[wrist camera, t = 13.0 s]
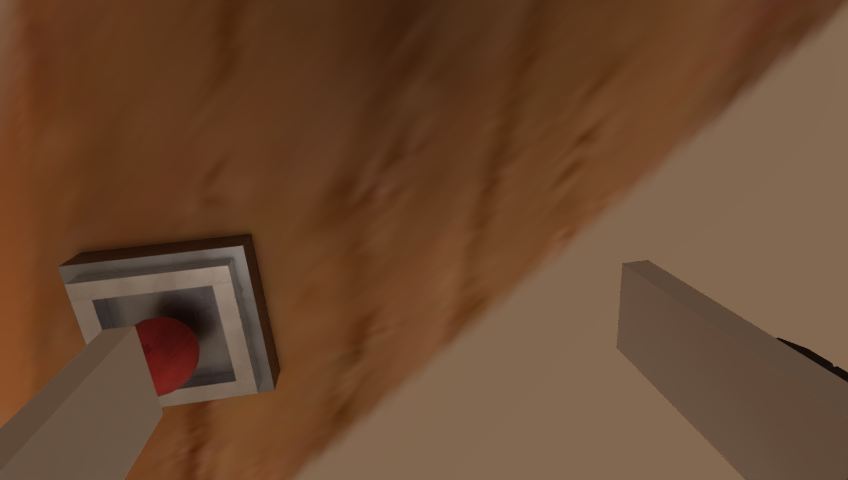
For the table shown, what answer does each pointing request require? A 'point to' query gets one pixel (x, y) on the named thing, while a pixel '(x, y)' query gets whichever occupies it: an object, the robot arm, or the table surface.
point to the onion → (168, 352)
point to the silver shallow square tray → (185, 307)
